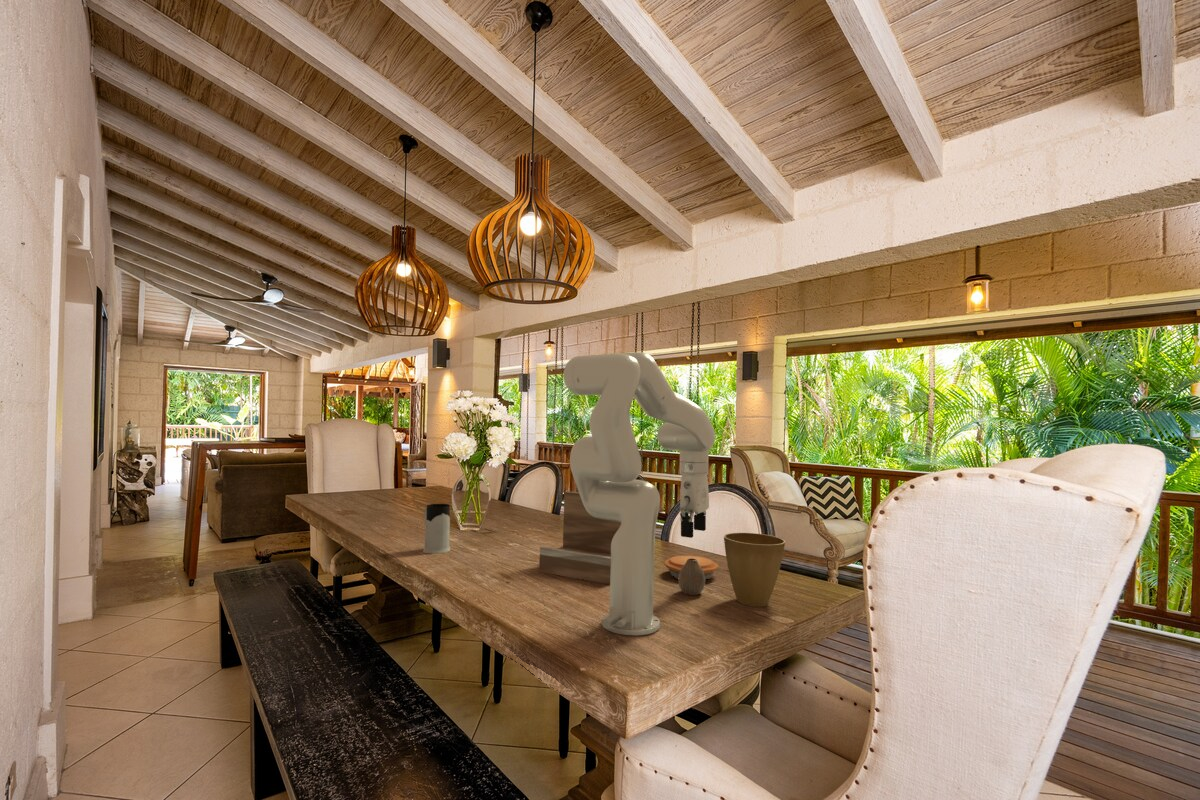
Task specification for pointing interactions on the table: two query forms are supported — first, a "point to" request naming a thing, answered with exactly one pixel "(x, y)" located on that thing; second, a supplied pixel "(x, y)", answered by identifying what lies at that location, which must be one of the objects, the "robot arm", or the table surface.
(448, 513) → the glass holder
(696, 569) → the vase
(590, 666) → the table surface
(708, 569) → the pie
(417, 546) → the table surface
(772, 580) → the plant pot
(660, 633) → the table surface
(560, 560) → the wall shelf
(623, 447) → the robot arm
